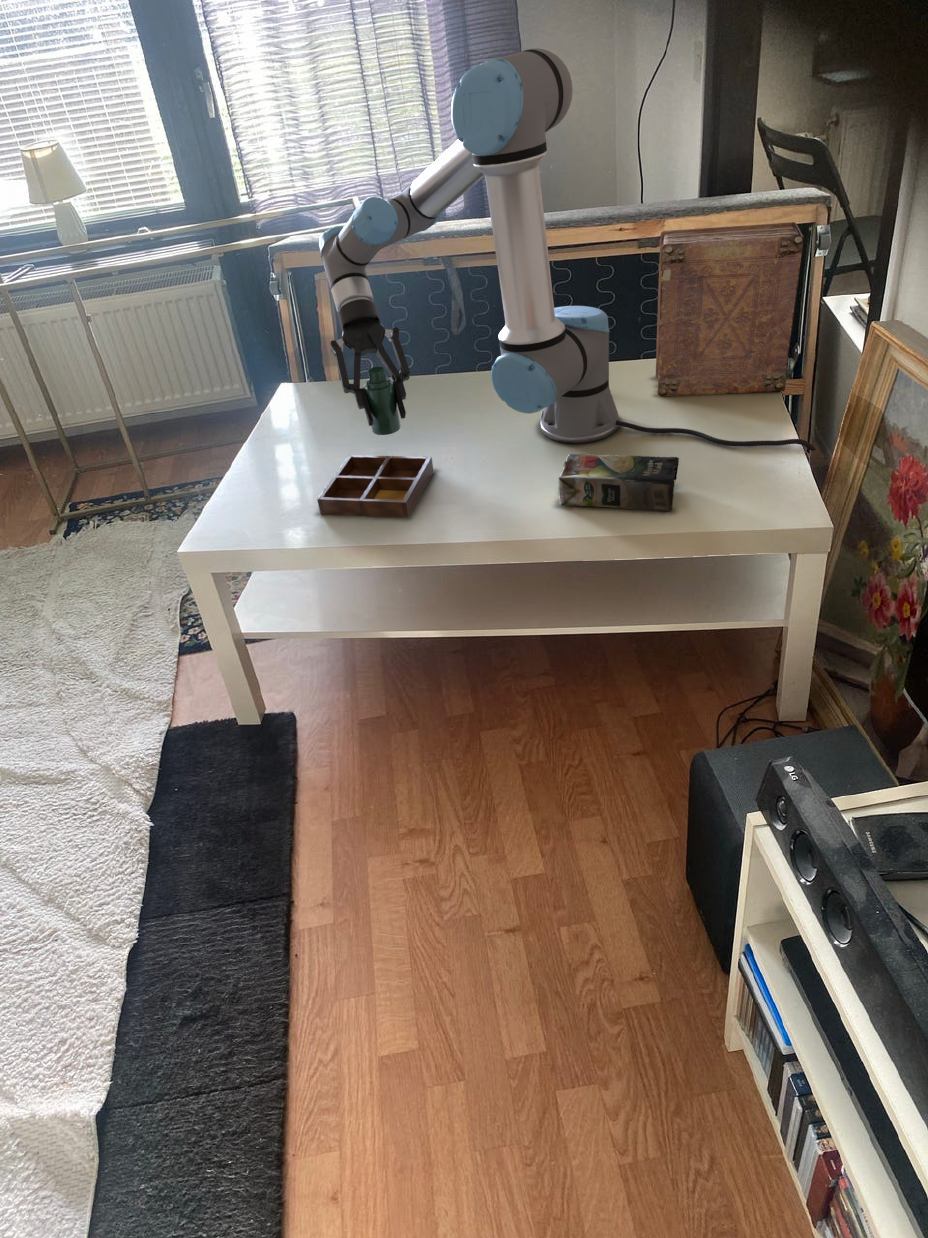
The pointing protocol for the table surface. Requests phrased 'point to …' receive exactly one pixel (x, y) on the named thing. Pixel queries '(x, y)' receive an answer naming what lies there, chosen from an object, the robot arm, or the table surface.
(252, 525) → the table surface
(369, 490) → the tray
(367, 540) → the table surface
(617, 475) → the juice carton
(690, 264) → the book
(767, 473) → the table surface
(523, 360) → the robot arm
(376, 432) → the green bottle
